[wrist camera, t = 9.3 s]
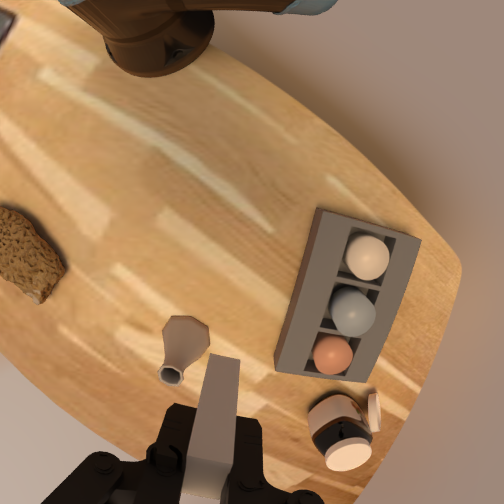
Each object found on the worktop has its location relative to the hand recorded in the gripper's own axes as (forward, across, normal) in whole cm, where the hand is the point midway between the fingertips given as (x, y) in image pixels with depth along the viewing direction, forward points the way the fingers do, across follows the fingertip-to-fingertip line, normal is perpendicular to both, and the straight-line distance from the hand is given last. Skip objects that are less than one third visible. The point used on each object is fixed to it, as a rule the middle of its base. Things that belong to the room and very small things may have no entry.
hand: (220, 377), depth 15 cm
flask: (+27, -5, -14) cm, 31 cm away
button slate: (+24, +15, -3) cm, 28 cm away
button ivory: (+25, +15, +4) cm, 30 cm away
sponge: (+27, -36, -7) cm, 45 cm away
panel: (+26, +15, -3) cm, 31 cm away
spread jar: (+27, +23, -22) cm, 42 cm away
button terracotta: (+25, +15, -10) cm, 31 cm away
